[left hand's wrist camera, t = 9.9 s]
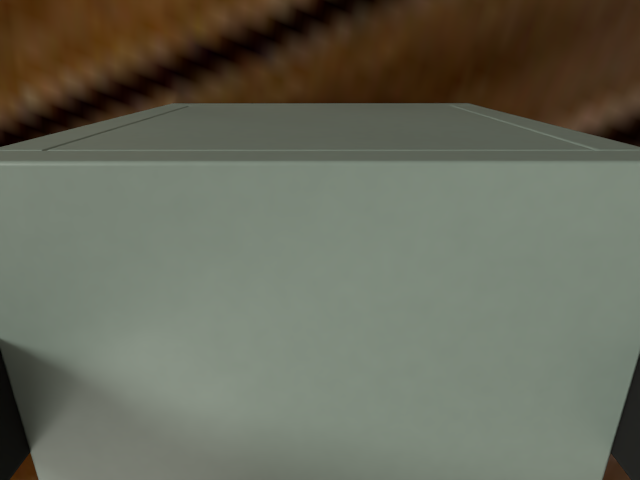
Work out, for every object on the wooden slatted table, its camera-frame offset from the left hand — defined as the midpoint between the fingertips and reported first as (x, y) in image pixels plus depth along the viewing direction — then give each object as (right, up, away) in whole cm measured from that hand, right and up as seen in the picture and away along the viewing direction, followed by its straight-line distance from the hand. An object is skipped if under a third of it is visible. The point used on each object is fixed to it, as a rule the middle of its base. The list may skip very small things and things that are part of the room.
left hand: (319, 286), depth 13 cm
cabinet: (0, -3, +9) cm, 9 cm away
